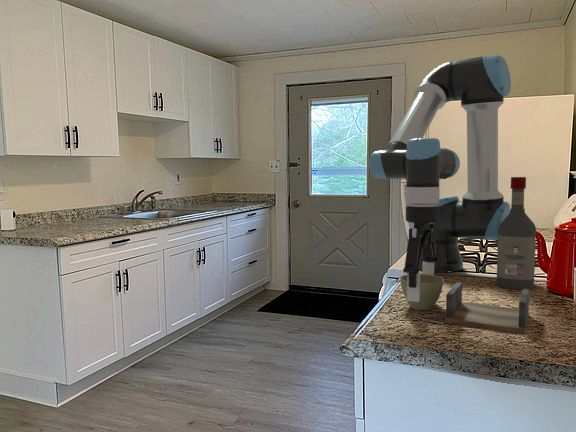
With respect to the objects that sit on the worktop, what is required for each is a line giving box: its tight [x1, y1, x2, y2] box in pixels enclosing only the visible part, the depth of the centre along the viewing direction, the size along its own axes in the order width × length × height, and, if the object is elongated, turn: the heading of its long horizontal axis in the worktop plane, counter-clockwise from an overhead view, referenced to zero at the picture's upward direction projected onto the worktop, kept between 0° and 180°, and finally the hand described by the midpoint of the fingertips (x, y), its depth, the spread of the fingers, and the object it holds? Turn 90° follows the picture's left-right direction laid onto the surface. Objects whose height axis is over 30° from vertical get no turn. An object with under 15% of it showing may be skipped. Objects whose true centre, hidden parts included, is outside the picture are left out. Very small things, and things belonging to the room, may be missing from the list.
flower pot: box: [399, 273, 445, 311], centre depth 114 cm, size 10×10×7 cm
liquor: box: [496, 176, 537, 291], centre depth 130 cm, size 9×9×30 cm
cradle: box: [444, 282, 530, 335], centre depth 105 cm, size 14×15×6 cm
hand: (420, 294), depth 114 cm, fingers open, 13 cm apart
